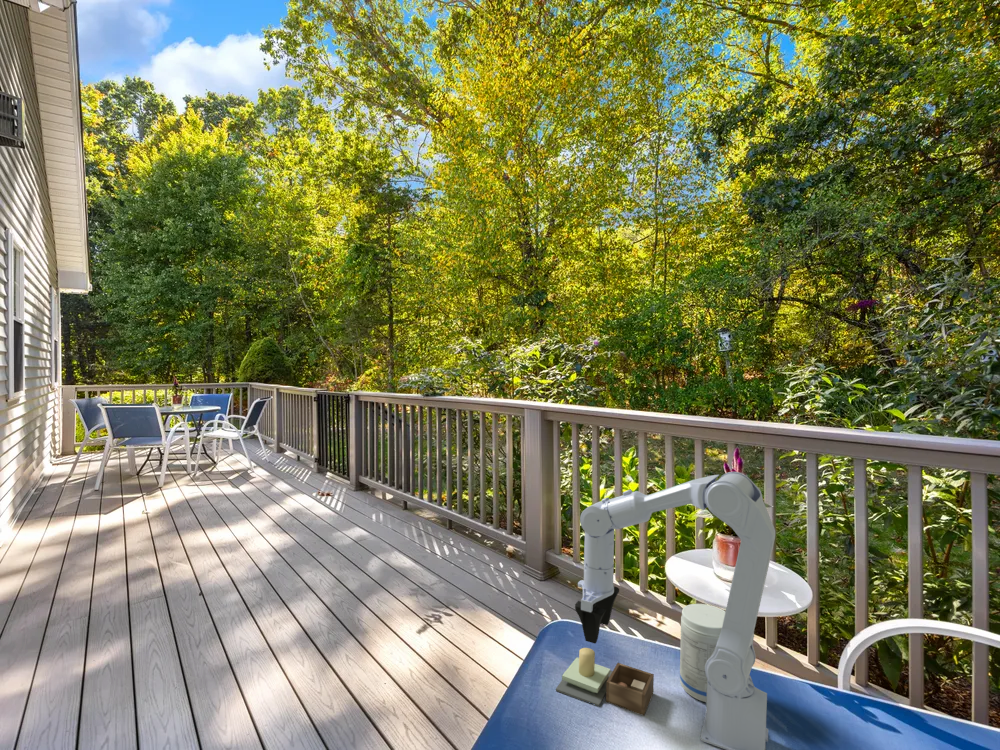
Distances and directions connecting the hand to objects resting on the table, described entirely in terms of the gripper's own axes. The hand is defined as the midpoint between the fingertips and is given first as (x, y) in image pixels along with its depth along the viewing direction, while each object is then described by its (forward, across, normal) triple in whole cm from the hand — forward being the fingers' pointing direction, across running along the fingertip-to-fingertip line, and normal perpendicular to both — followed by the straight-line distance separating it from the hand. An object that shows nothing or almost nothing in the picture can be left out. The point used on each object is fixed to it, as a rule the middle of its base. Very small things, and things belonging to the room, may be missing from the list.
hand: (597, 632), depth 98 cm
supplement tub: (+10, -8, +19) cm, 23 cm away
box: (+10, +2, +7) cm, 12 cm away
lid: (+9, +2, -1) cm, 9 cm away
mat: (+10, +2, -1) cm, 10 cm away
